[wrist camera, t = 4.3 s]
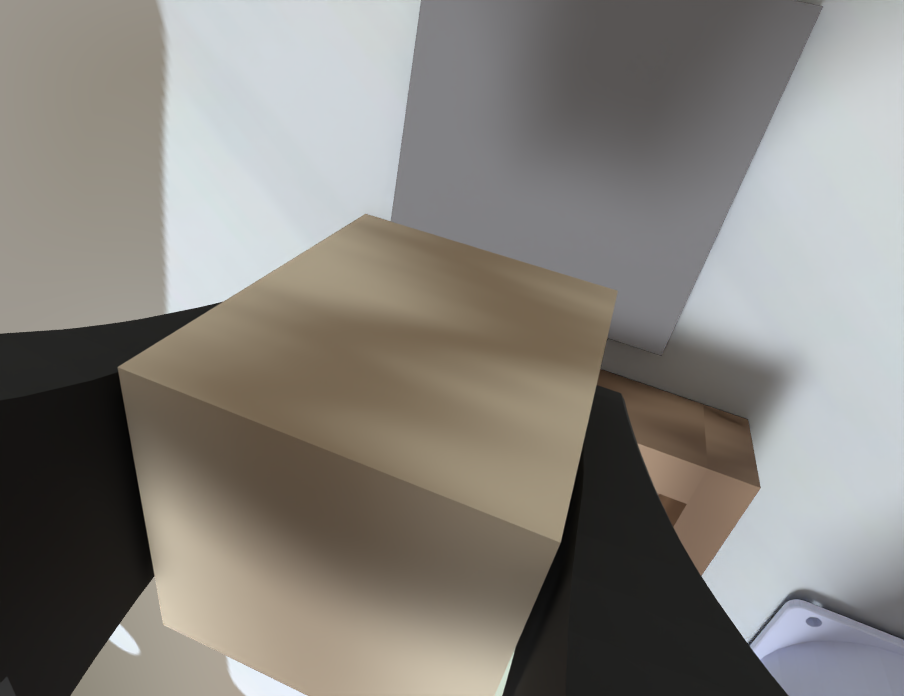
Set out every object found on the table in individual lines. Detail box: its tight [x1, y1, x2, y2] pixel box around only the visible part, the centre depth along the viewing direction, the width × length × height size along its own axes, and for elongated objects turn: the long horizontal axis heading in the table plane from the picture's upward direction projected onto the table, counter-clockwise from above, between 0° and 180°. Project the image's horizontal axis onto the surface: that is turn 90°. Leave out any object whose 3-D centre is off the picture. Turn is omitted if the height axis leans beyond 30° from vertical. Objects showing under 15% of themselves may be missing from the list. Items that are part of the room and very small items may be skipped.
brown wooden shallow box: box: [597, 369, 761, 576], centre depth 25 cm, size 15×22×4 cm
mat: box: [391, 0, 823, 356], centre depth 17 cm, size 10×10×1 cm
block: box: [118, 214, 618, 696], centre depth 10 cm, size 5×5×6 cm
